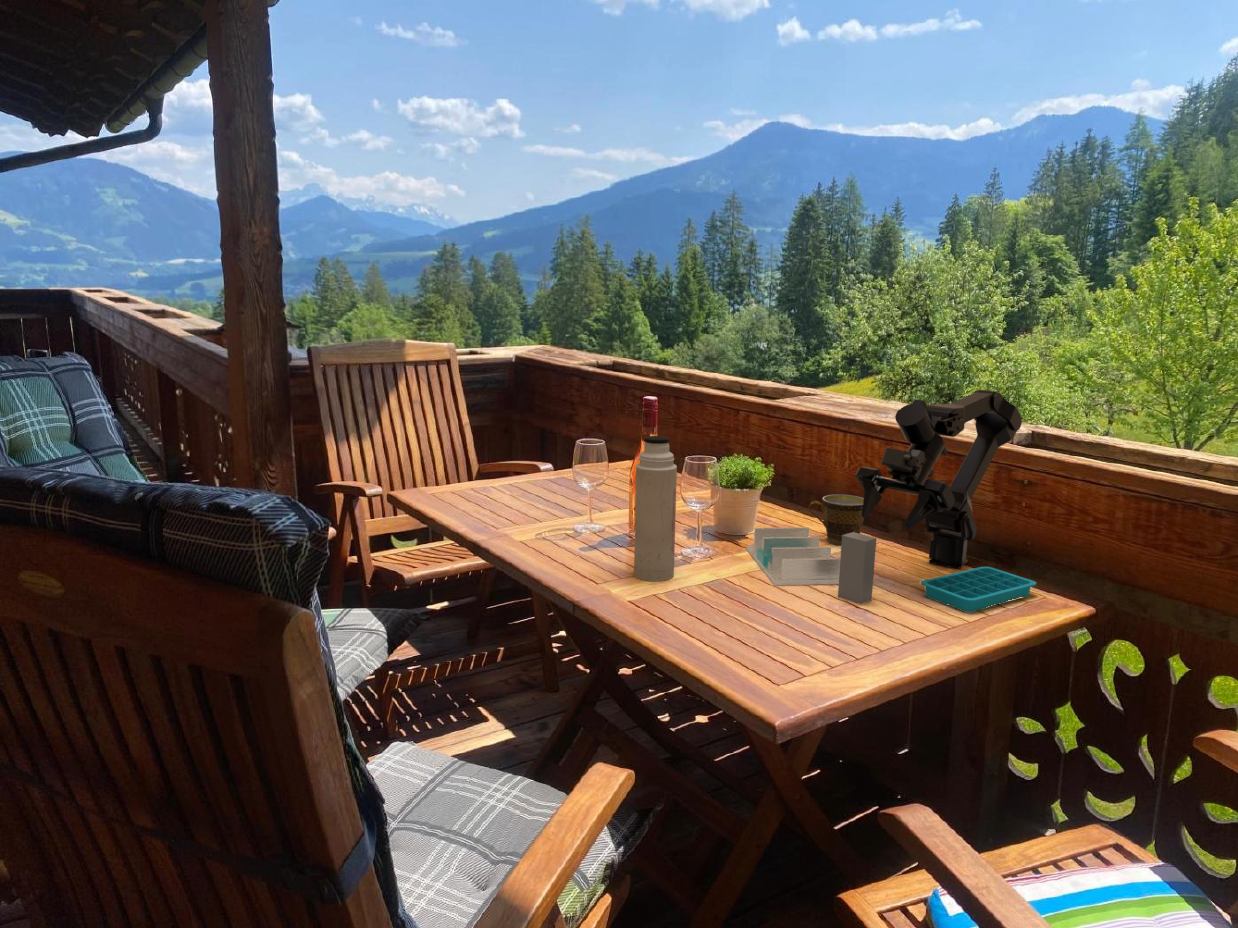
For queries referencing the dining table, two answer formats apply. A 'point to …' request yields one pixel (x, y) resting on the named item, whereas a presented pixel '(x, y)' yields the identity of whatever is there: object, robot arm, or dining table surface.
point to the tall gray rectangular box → (857, 567)
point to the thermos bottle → (655, 511)
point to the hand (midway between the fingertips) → (883, 522)
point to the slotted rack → (793, 557)
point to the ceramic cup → (840, 516)
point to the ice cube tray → (977, 588)
